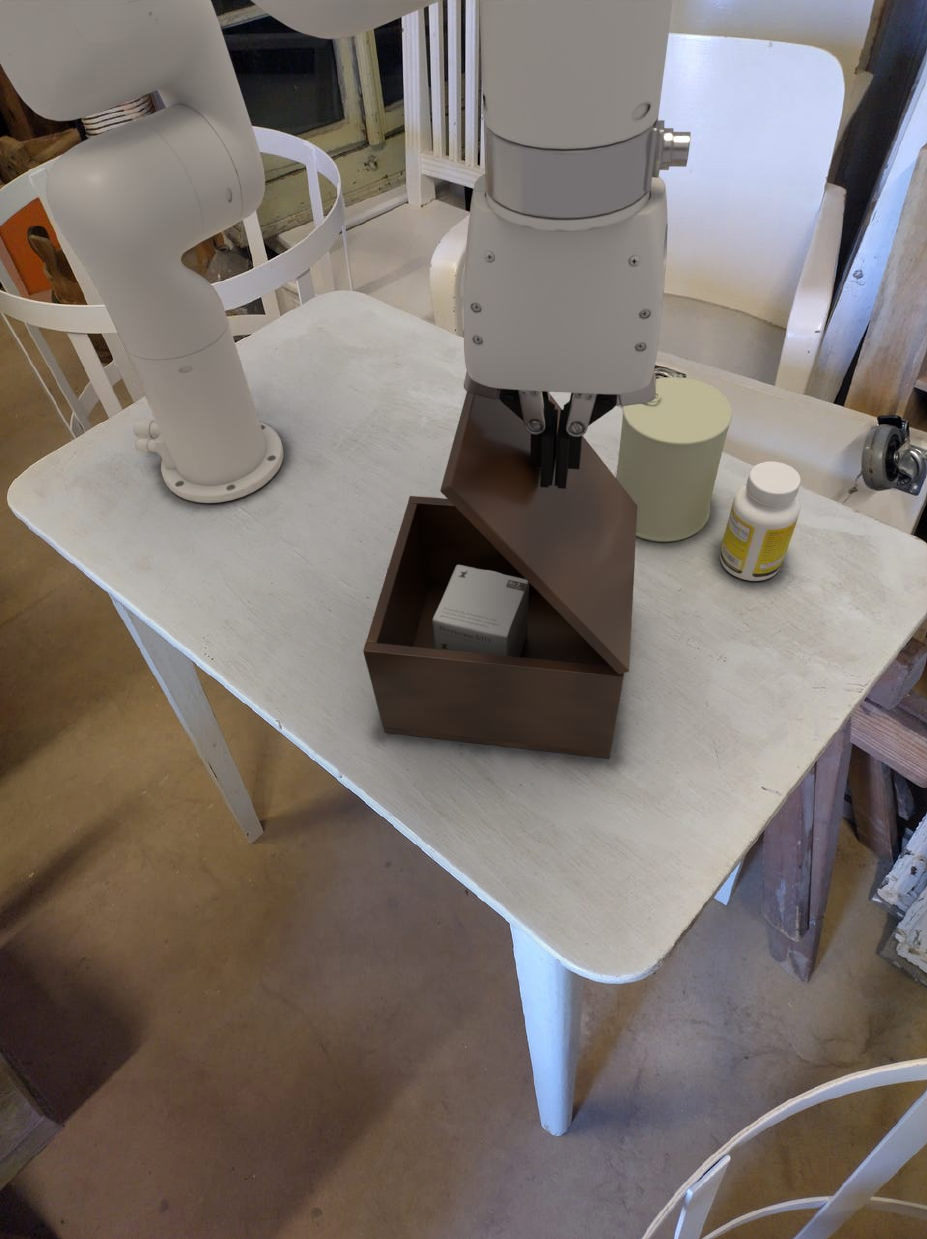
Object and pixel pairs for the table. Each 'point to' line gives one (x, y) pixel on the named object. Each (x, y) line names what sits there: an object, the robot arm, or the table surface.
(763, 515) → the supplement bottle
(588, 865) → the table surface
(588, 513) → the lid
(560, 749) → the chest
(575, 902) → the table surface
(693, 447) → the can
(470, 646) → the white cardboard box
